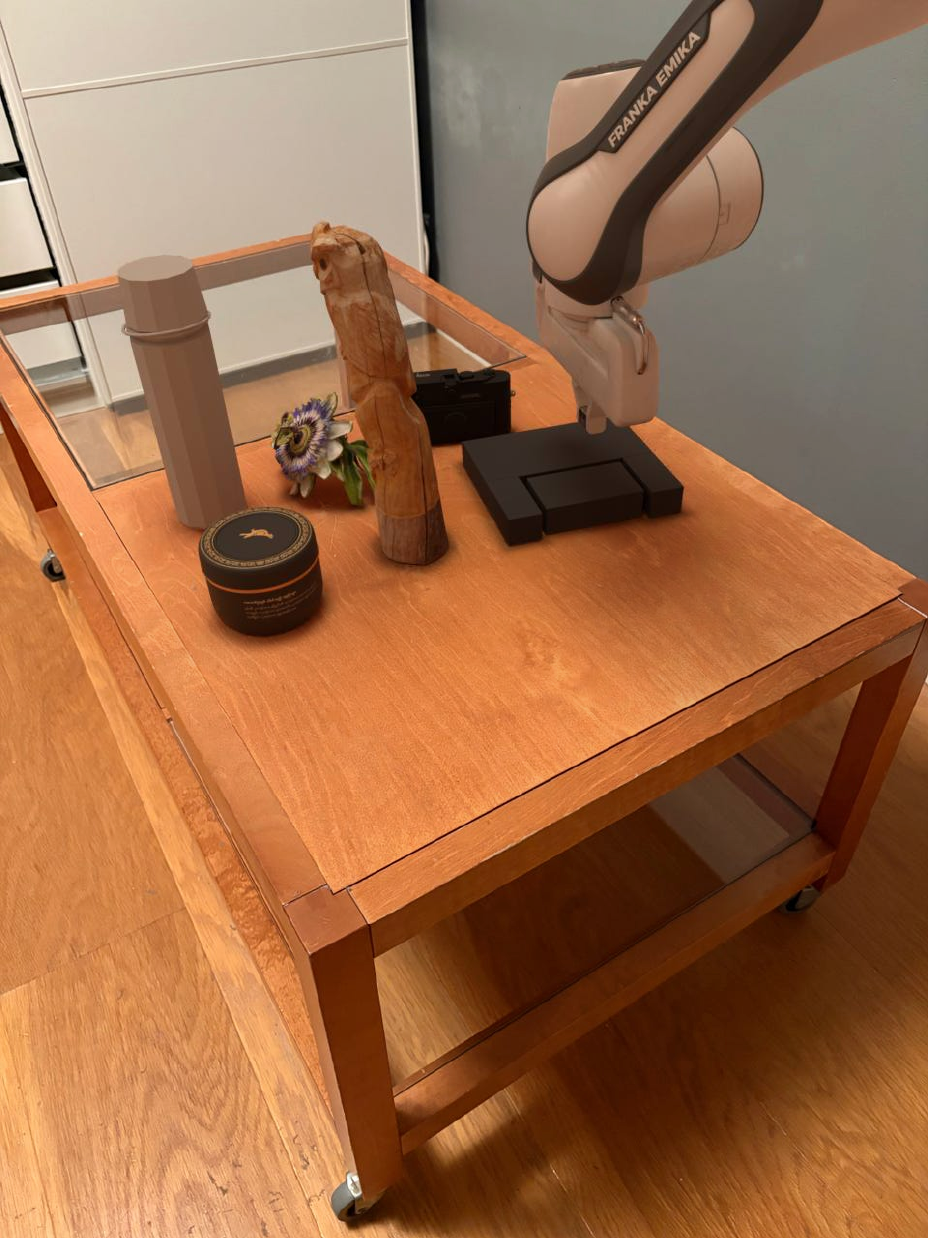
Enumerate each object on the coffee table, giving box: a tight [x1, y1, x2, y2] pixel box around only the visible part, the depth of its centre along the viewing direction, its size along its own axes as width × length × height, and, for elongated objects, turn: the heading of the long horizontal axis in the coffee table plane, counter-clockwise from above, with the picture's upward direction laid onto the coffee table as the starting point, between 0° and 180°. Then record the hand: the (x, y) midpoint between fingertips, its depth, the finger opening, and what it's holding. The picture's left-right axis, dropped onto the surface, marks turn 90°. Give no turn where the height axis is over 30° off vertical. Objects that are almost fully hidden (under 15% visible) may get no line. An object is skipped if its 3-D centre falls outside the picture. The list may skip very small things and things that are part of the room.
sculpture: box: [309, 220, 450, 566], centre depth 81 cm, size 7×9×30 cm
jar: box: [197, 506, 324, 638], centre depth 82 cm, size 10×10×8 cm
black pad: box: [527, 462, 644, 536], centre depth 94 cm, size 10×6×3 cm, turn 106°
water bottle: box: [116, 254, 248, 531], centre depth 89 cm, size 9×8×25 cm
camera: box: [411, 367, 517, 447], centre depth 106 cm, size 14×7×8 cm, turn 98°
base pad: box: [461, 416, 685, 547], centre depth 97 cm, size 18×16×3 cm
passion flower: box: [270, 391, 376, 508], centre depth 98 cm, size 11×11×12 cm
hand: (590, 426), depth 89 cm, fingers closed
